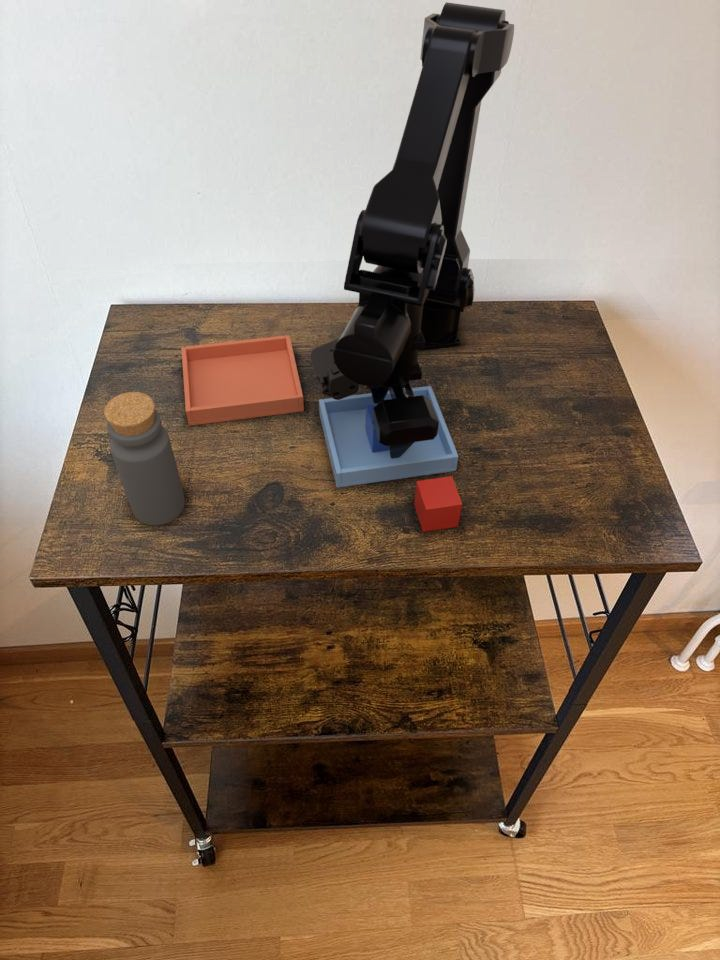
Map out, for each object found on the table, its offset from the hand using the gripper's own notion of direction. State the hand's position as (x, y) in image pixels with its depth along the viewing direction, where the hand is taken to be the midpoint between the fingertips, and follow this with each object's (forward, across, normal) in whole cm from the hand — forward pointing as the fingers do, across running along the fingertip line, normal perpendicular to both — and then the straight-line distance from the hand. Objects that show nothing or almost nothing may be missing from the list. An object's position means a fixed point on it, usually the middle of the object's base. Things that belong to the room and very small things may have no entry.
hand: (386, 428), depth 87 cm
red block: (+2, +12, +3) cm, 13 cm away
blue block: (+2, 0, 0) cm, 2 cm away
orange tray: (+2, -13, -16) cm, 21 cm away
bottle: (+2, +5, -27) cm, 28 cm away
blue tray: (+2, 0, 0) cm, 2 cm away
